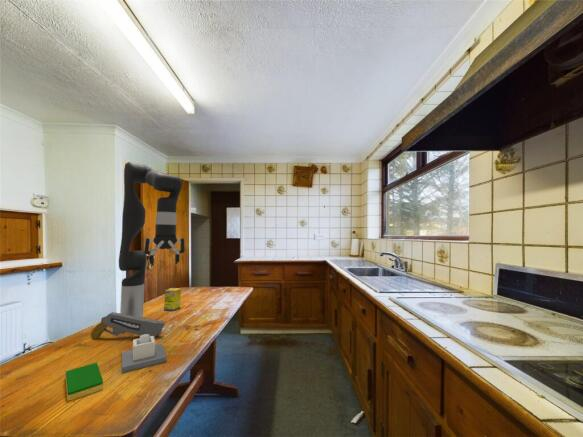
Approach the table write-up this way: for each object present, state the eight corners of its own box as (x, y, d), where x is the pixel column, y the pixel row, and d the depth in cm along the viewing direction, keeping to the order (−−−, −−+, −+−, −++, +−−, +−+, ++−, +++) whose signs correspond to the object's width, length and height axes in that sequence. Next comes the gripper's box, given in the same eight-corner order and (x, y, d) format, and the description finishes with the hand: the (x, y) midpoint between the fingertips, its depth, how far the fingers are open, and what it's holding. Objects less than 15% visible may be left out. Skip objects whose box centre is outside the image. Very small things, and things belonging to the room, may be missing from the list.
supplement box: (163, 310, 135) (164, 290, 135) (170, 307, 140) (171, 287, 141) (173, 311, 134) (174, 290, 134) (180, 308, 140) (181, 288, 140)
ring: (132, 353, 83) (133, 339, 84) (153, 348, 87) (153, 335, 87) (132, 360, 78) (133, 346, 79) (154, 355, 82) (155, 342, 82)
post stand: (122, 356, 84) (123, 333, 85) (161, 347, 91) (162, 326, 91) (121, 372, 74) (122, 346, 75) (166, 361, 81) (167, 338, 81)
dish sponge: (67, 403, 61) (67, 393, 62) (65, 379, 71) (65, 370, 72) (103, 390, 66) (103, 381, 67) (96, 370, 76) (97, 362, 77)
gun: (147, 361, 98) (163, 324, 99) (86, 339, 97) (103, 302, 98) (151, 357, 101) (166, 321, 103) (92, 335, 100) (108, 300, 101)
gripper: (183, 224, 107) (182, 262, 106) (145, 223, 99) (143, 264, 99) (186, 224, 101) (185, 264, 100) (146, 223, 93) (144, 266, 92)
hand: (164, 264), depth 99 cm, fingers open, 8 cm apart
